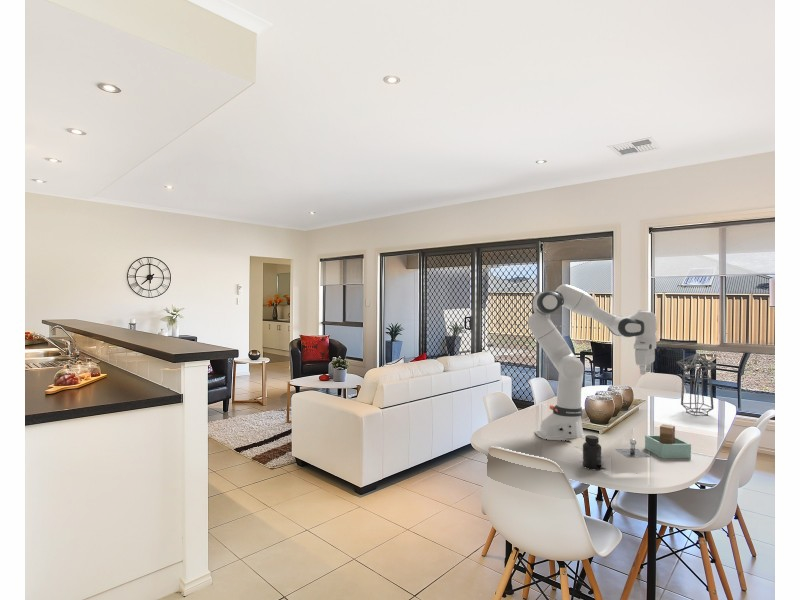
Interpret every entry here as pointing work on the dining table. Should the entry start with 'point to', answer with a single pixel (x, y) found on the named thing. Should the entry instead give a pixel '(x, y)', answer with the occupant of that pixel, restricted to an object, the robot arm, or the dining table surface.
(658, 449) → the sage bin
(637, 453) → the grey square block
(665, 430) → the walnut strut
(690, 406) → the geometric lantern
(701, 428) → the dining table surface
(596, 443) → the supplement bottle
